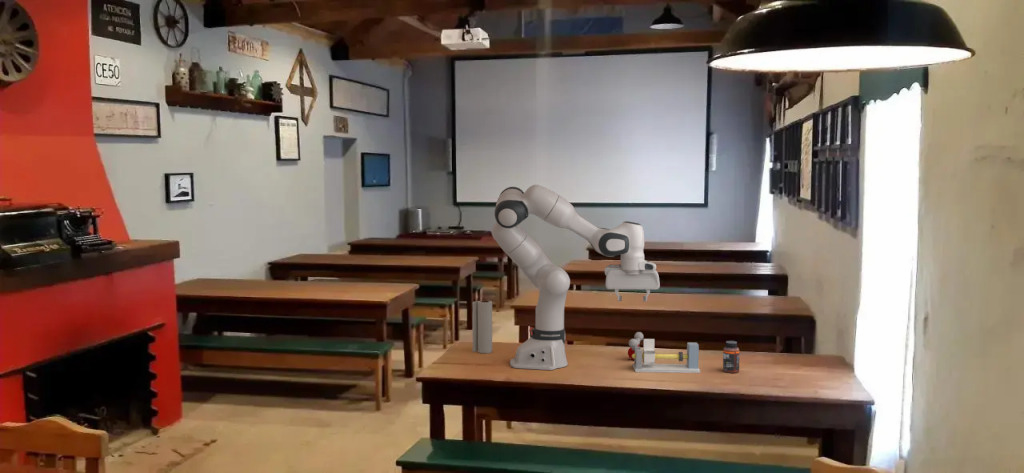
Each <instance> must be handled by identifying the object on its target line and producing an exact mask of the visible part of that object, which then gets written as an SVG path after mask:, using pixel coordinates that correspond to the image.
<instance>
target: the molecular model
mask: <svg viewBox="0 0 1024 473" xmlns="http://www.w3.org/2000/svg"><path fill="white" fill-rule="evenodd" d="M643 340H644V334H643V332H641V331H637V332H635V334H634V338H631V339H629V341H628V346H629V347H628V349H627V356H628V358H629V359H630V360H632V361H634V360H635V359H634V358H632V354H635V347H640V343H641V341H643Z"/></svg>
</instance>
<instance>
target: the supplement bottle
mask: <svg viewBox="0 0 1024 473" xmlns="http://www.w3.org/2000/svg"><path fill="white" fill-rule="evenodd" d="M722 349H723V350H722V353H723V354H722V371H723V372H725V373H728V374H736V373H740V372H739V371H740V348H739V347H738V341H735V340H726V341H725V346H724V347H723V348H722Z"/></svg>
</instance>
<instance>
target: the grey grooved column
mask: <svg viewBox="0 0 1024 473" xmlns="http://www.w3.org/2000/svg"><path fill="white" fill-rule="evenodd" d="M474 352H477V353H479V354H492V352H493V301H492V300H476V301H472V353H474Z"/></svg>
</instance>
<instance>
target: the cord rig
mask: <svg viewBox="0 0 1024 473" xmlns="http://www.w3.org/2000/svg"><path fill="white" fill-rule="evenodd" d="M699 346H700V345H699V344H698V342H691V341H690V342H687V344H686V353H684V352H683V351H678V353H677V354H676V353H655V360H678V362H683V361H684V360H686V363H655V365H644V363H643V359H644V354H643V348H642V349H641V346H639V347H635V354H632V358H634V359H635V360H633V363H632V367H633V370H634V372H635V373H671V374H674V373H675V374H676V373H677V374H678V373H684V374H685V373H686V374H687V373H688V374H689V373H690V374H692V373H693V374H697V373H698V374H700V373H701V369H700V368H699V359H700V358H699V357H700V356H699V352H700V351H699V349H700V347H699Z"/></svg>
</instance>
